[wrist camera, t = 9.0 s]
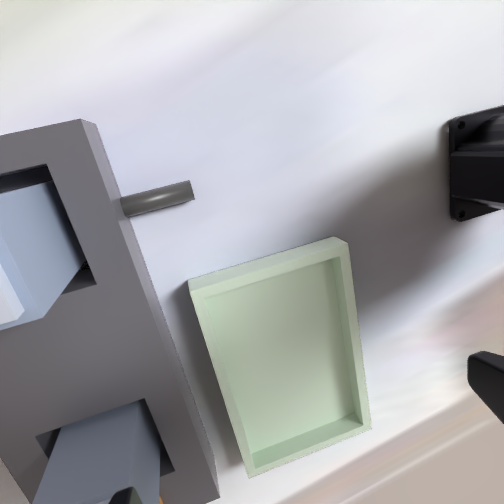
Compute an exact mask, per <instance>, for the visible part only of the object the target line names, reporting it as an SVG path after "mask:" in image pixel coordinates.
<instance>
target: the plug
mask: <svg viewBox="0 0 504 504" xmlns="http://www.w3.org/2000/svg"><path fill="white" fill-rule="evenodd" d="M160 444H161V436H160V434H159V431H158V429H157V426H156V424H155V422H154V419H153V417H152V414H151V412H150V410H149V407H148V405H147V403H146V400H145V398H143V399H140V400H137V401H134V402H132V403H129V404H126V405H123V406H120V407H117V408H114V409H111V410H109V411H106V412H103V413H100V414H97V415H94V416H91V417H88V418H86V419H83V420H80V421H77V422H74V423H71V424H68V425H65V426H62V428H61V430H60V433H59V435H58V438H57V441H56V443H55V446H54V448H53V451H52V454H51V456H50V459H49V462H48V464H47V467H46V469H45V472H44V475H43V477H42V480H41V482H40V485H39V488H38V490H37V493H36V495H35V498H34V501H33V503H32V504H108V503H109V502H110V500H111V498H112V496H113V495H114V494H115V493H116V492H117V491H120V490H122V489H125V488H127V487H130V486H133V487H134V488H135V489H136V491H137V493H138V495H139V497H140V499H141V501H142V503H143V504H159V486H160Z"/></svg>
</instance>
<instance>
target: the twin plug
mask: <svg viewBox="0 0 504 504" xmlns="http://www.w3.org/2000/svg"><path fill="white" fill-rule="evenodd" d="M194 199H195V198H194V194H193V190H192V187H191V184H190V181H189V180H188V181H184V182H180V183H176V184H172V185H168V186H164V187H160V188H156V189H153V190H149V191H145V192H141V193H137V194H133V195H129V196H125V197H121V198H120V204H121V207H122V210H123V212H124V215H125V216H126V217H129V216H133V215H137V214H141V213H145V212H149V211H152V210H156V209H160V208H164V207H168V206H172V205H175V204H179V203H183V202H187V201H191V200H194ZM85 261H86V257H85V255H84V252H83V250H82V247H81V245H80V243H79V240H78V238H77V235H76V233H75V231H74V228H73V226H72V224H71V221H70V219H69V216H68V214H67V212H66V209H65V207H64V204H63V202H62V200H61V197H60V195H59V193H58V190H57V188H56V185H55V183H54V181H53V180H52V181H48V182H44V183H40V184H35V185H31V186H27V187H23V188H19V189H14V190H10V191H6V192H2V193H0V330H3V329H6V328H10V327H13V326H16V325H20V324H23V323H27V322H30V321H33V320H37V319H40V318H43V317H44V316H45V314H46V313H47V312H48V310H49V309H50V308H51V306H52V305H53V304H54V302H55V301H56V300H57V298H58V297H59V296H60V294H61V293H62V292H63V290H64V289H65V288H66V286H67V285H68V284H69V282H70V281H71V279H72V278H73V277H74V275H75V274H76V273H77V271H78V270H79V269H80V267H81V266H82V265H83V263H84V262H85Z"/></svg>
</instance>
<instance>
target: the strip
mask: <svg viewBox="0 0 504 504" xmlns="http://www.w3.org/2000/svg"><path fill="white" fill-rule="evenodd" d="M44 166H48V169H49V171H50V173H51V176H52V178H53V181H54V183H55V185H56V188H57V190H58V193H59V195H60V197H61V200H62V202H63V204H64V207H65V209H66V212H67V214H68V216H69V219H70V221H71V224H72V226H73V228H74V231H75V233H76V235H77V238H78V240H79V243H80V245H81V247H82V250H83V252H84V255H85V257H86V259H87V262H88V264H89V267H90V269H86V270H83V271H79V272H77V273H76V274H75V275H74V277H73V278H72V279H71V281H70V282H69V284H68V285H67V286H66V288H65V289H64V290H63V292H62V293H61V294H60V296H59V297H58V298H57V300H56V301H55V302H54V304H53V305H52V306H51V308H50V309H49V310H48V312H47V313H46V314H45V316H44V317H43V318H40V319H37V320H33V321H30V322H27V323H23V324H20V325H16V326H13V327H10V328H6V329H3V330H0V458H1V459H2V461H3V462H4V464H5V465H6V467H7V468H8V470H9V471H10V473H11V474H12V476H13V478H14V479H15V481H16V482H17V484H18V485H19V487H20V488H21V490H22V491H23V493H24V494H25V496H26V497H27V499H28V500H29V502H30V503H31V504H32V503H33V501H34V498H35V495H36V493H37V490H38V488H39V485H40V482H41V480H42V477H43V475H44V472H45V469H46V467H47V464H48V462H49V459H50V456H51V454H52V451H53V448H54V446H55V443H56V441H57V438H58V435H59V433H60V430H61V428H62V426H65V425H68V424H71V423H74V422H77V421H80V420H83V419H86V418H88V417H91V416H94V415H97V414H100V413H103V412H106V411H109V410H111V409H114V408H117V407H120V406H123V405H126V404H129V403H132V402H134V401H137V400H140V399H143V398H145V400H146V403H147V405H148V407H149V410H150V412H151V414H152V417H153V419H154V422H155V424H156V426H157V429H158V431H159V434H160V436H161V444H160V486H159V504H206V503H208V502H211V501H213V500H216V499H218V498H220V494H219V487H218V481H217V474H216V467H215V461H214V455H213V452H212V449H211V447H210V444H209V441H208V438H207V435H206V433H205V430H204V427H203V424H202V421H201V419H200V416H199V413H198V410H197V407H196V405H195V402H194V399H193V396H192V393H191V390H190V388H189V385H188V382H187V379H186V376H185V374H184V371H183V368H182V365H181V362H180V360H179V357H178V354H177V351H176V348H175V346H174V343H173V340H172V337H171V334H170V331H169V329H168V326H167V323H166V320H165V317H164V315H163V312H162V309H161V306H160V303H159V301H158V298H157V295H156V292H155V289H154V286H153V284H152V281H151V278H150V275H149V272H148V270H147V267H146V264H145V261H144V258H143V256H142V253H141V250H140V247H139V244H138V242H137V239H136V236H135V233H134V230H133V227H132V225H131V222H130V219H129V217H126V216H125V215H124V212H123V210H122V207H121V204H120V198H121V194H120V191H119V188H118V185H117V183H116V180H115V177H114V174H113V171H112V168H111V166H110V163H109V160H108V157H107V154H106V152H105V149H104V146H103V143H102V140H101V138H100V135H99V132H98V129H97V126H96V124H94V123H91V122H88V121H85V120H83V119H77V120H72V121H67V122H62V123H58V124H53V125H48V126H44V127H39V128H34V129H29V130H25V131H20V132H15V133H10V134H6V135H1V136H0V176H4V175H9V174H13V173H17V172H22V171H26V170H30V169H35V168H39V167H44Z"/></svg>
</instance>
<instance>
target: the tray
mask: <svg viewBox="0 0 504 504" xmlns="http://www.w3.org/2000/svg"><path fill="white" fill-rule="evenodd" d="M188 285H189V292H190V295H191V298H192V301H193V304H194V307H195V311H196V314H197V317H198V320H199V323H200V326H201V330H202V333H203V336H204V339H205V342H206V345H207V348H208V352H209V355H210V358H211V361H212V364H213V367H214V371H215V374H216V377H217V380H218V383H219V386H220V389H221V393H222V396H223V399H224V402H225V405H226V408H227V412H228V415H229V418H230V421H231V424H232V427H233V431H234V434H235V437H236V440H237V443H238V446H239V449H240V453H241V456H242V459H243V462H244V465H245V468H246V472H247V475H248V478H252V477H254V476H257V475H259V474H262V473H264V472H266V471H269V470H271V469H274V468H276V467H279V466H281V465H284V464H286V463H289V462H291V461H294V460H296V459H299V458H301V457H304V456H306V455H308V454H311V453H313V452H316V451H318V450H321V449H323V448H326V447H328V446H331V445H333V444H336V443H338V442H341V441H343V440H346V439H348V438H350V437H353V436H355V435H358V434H360V433H363V432H365V431H368V430H370V429H372V426H371V418H370V410H369V402H368V394H367V387H366V379H365V371H364V363H363V356H362V348H361V340H360V332H359V324H358V317H357V309H356V301H355V293H354V286H353V278H352V270H351V262H350V254H349V247H348V243H346V242H345V241H343V240H341V239H339V238H337V237H335V236H333V237H330V238H326V239H323V240H320V241H316V242H313V243H310V244H306V245H303V246H299V247H296V248H293V249H289V250H286V251H283V252H279V253H276V254H273V255H269V256H266V257H263V258H259V259H256V260H253V261H249V262H246V263H243V264H239V265H236V266H232V267H229V268H226V269H222V270H219V271H216V272H212V273H209V274H206V275H202V276H199V277H196V278H192V279H189V280H188Z"/></svg>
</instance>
